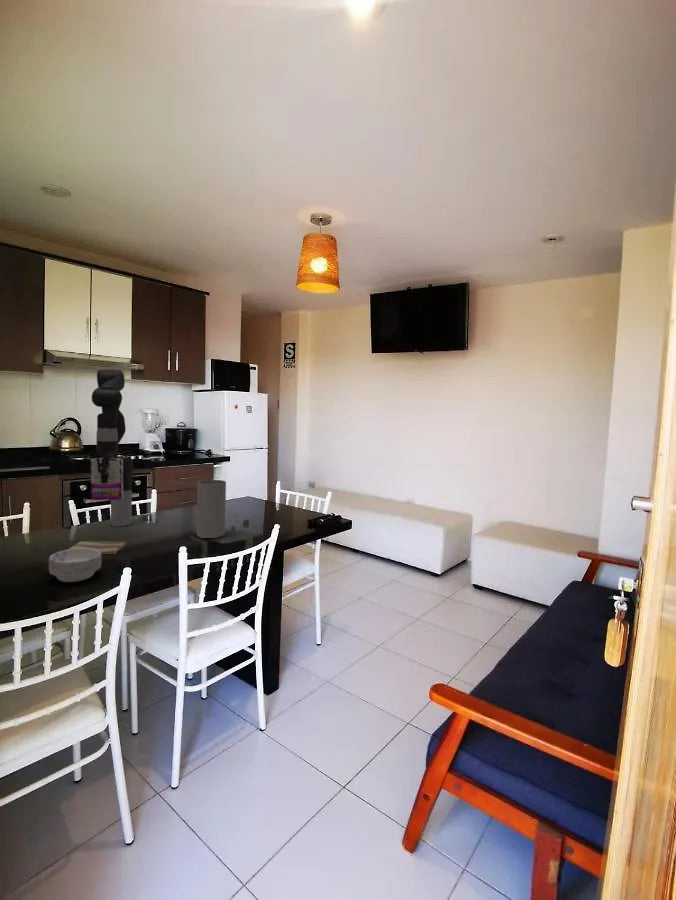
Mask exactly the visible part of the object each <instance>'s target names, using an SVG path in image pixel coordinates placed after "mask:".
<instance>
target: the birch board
mask: <svg viewBox="0 0 676 900" xmlns="http://www.w3.org/2000/svg"><path fill="white" fill-rule="evenodd" d="M127 544H128V543H127V541H120V540H119V541H115V540H113V541H107V540H106V541H104V540H103V541H102V540H101V541H100V540H99V541H98V540H97V541H95V540H93V541H92V540H82V541H79V542H78V543H76V544H74V545H73V546H71V547H69V548H68V549H67V550H69V549H78V548H89V549H95V550H98V551H100V552H101V554H114V555H115V554H117V551H118V552H119V551H120V550H121V549H123V548H124V547H125V546H126V545H127ZM122 547H123V548H122Z"/></svg>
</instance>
